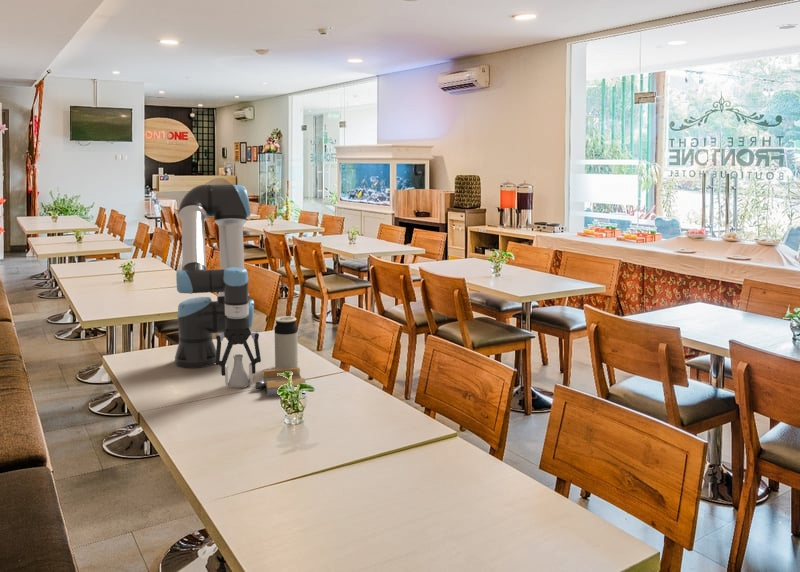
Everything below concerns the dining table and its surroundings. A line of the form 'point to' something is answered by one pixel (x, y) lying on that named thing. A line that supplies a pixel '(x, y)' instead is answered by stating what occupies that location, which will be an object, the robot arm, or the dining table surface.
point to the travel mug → (286, 343)
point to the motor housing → (278, 380)
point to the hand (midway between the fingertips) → (238, 383)
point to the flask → (238, 373)
